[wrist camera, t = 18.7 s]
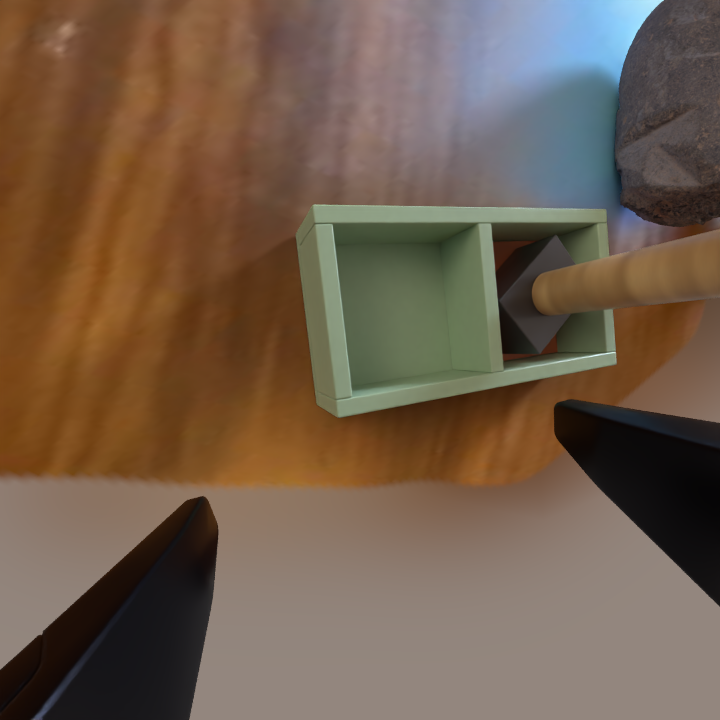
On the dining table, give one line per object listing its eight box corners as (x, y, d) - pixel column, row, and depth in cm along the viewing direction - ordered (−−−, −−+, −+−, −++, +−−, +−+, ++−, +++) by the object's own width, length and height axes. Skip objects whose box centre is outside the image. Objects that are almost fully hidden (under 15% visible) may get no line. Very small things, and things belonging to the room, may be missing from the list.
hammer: (501, 354, 23) (820, 359, 10) (463, 307, 22) (769, 251, 9) (549, 295, 24) (885, 237, 12) (515, 247, 23) (846, 130, 11)
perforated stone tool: (600, 24, 26) (726, -86, 19) (649, 44, 28) (779, -50, 21) (598, 235, 26) (720, 197, 20) (646, 242, 28) (773, 209, 22)
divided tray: (558, 362, 25) (617, 364, 22) (316, 405, 20) (338, 418, 16) (547, 230, 25) (606, 208, 21) (295, 233, 19) (312, 204, 15)
